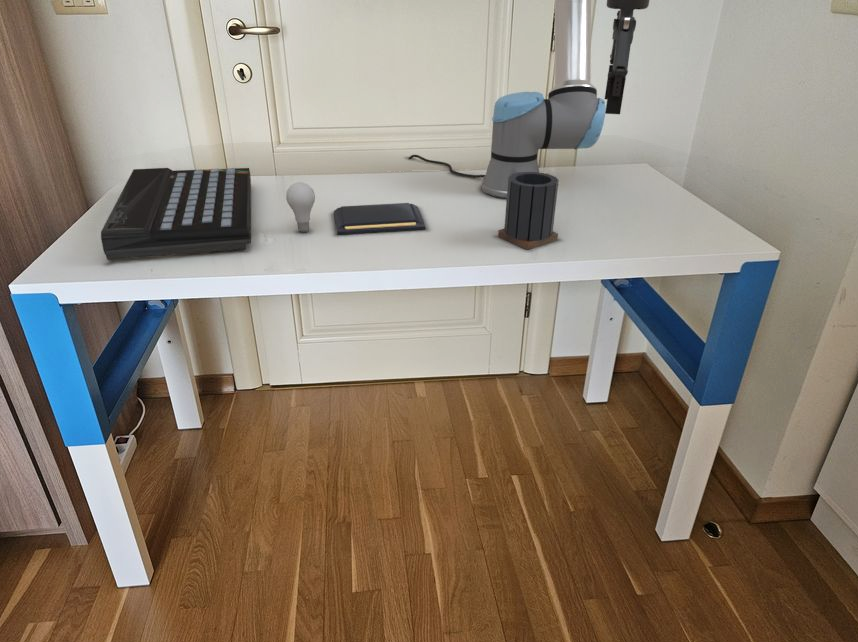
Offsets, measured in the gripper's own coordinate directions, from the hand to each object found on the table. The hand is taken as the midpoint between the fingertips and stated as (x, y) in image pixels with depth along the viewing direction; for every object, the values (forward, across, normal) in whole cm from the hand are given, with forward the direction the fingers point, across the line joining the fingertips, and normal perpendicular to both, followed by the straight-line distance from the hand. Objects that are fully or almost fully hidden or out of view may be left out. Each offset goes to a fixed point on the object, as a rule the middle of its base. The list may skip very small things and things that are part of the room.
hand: (611, 106), depth 130 cm
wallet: (+27, -4, +48) cm, 55 cm away
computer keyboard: (+27, -14, +90) cm, 95 cm away
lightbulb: (+27, -14, +62) cm, 69 cm away
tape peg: (+26, -7, +14) cm, 31 cm away
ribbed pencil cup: (+25, -7, +14) cm, 29 cm away
